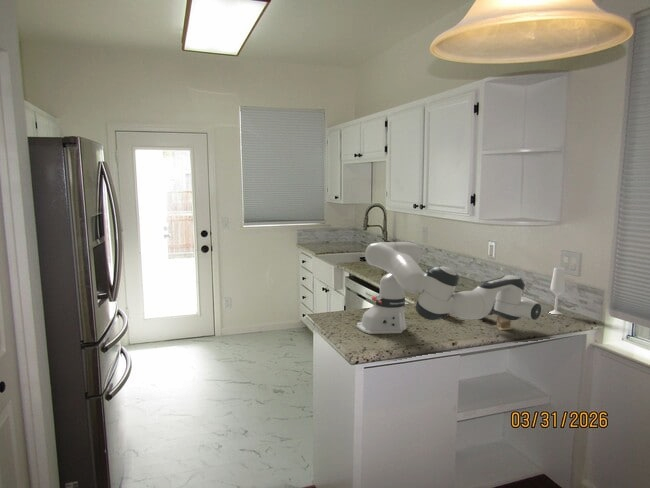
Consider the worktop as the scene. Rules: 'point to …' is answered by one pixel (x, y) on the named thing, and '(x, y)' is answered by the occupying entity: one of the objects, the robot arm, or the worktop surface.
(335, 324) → the worktop surface
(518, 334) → the worktop surface
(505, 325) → the stand
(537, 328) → the worktop surface
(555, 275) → the champagne flute
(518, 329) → the worktop surface
